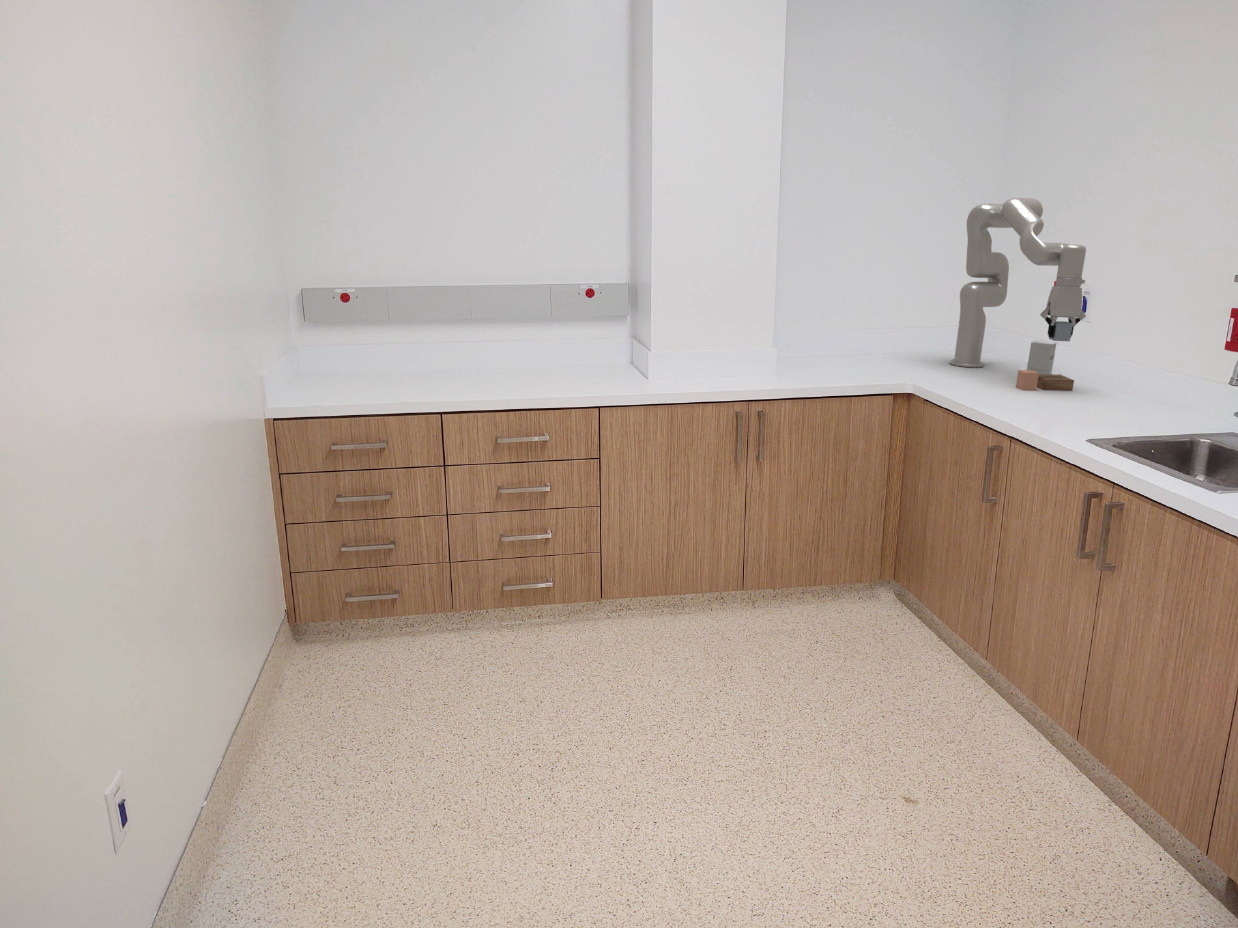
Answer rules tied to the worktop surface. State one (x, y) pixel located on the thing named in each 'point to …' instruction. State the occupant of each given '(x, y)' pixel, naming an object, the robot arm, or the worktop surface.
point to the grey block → (1062, 331)
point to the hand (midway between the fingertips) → (1059, 336)
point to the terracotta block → (1027, 380)
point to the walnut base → (1054, 382)
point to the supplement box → (1041, 356)
